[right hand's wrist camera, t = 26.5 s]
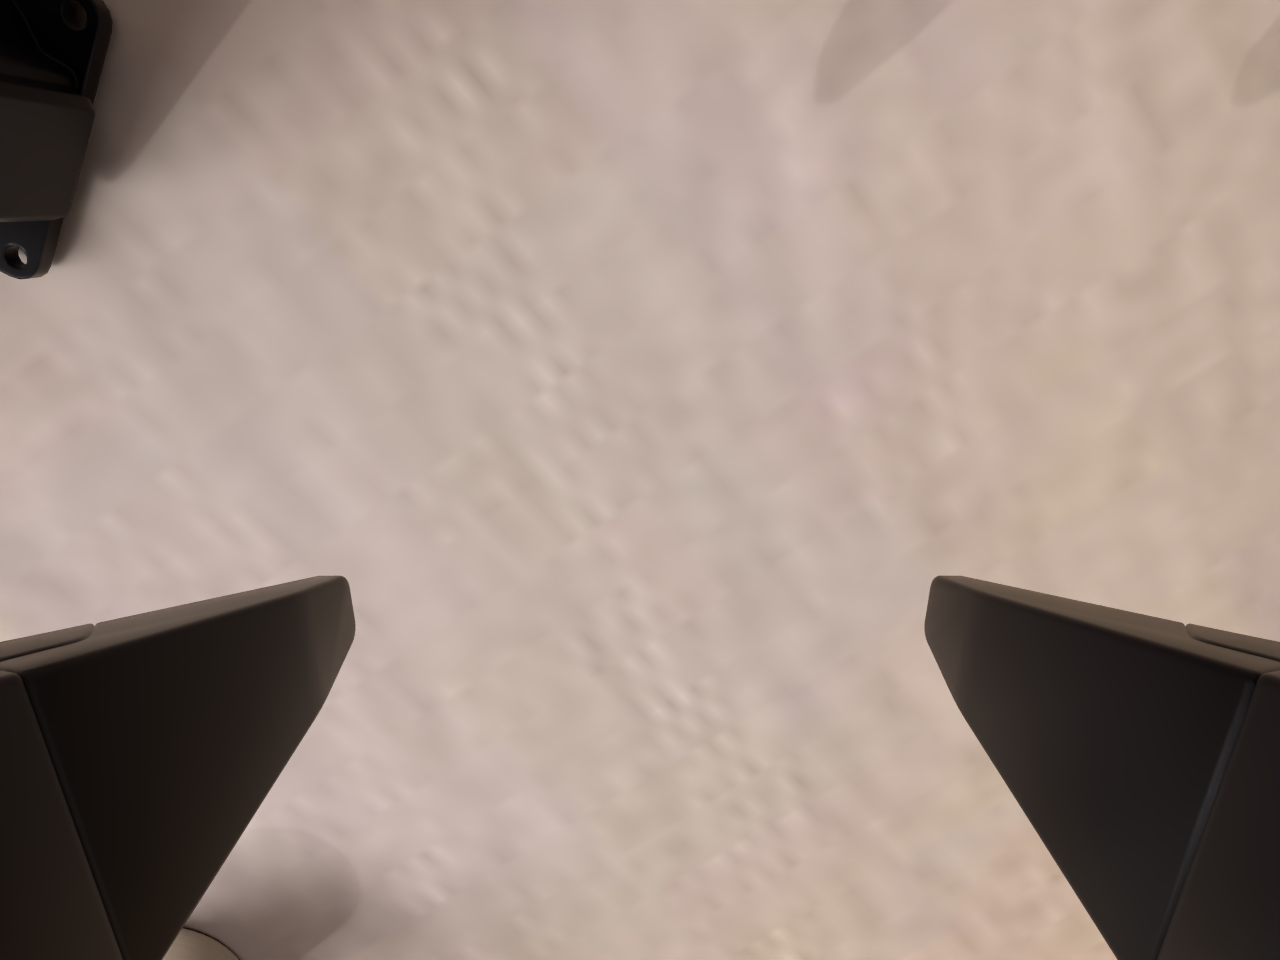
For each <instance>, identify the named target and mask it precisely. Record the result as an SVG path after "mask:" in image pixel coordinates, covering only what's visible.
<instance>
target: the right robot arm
mask: <svg viewBox="0 0 1280 960" xmlns="http://www.w3.org/2000/svg"><path fill="white" fill-rule="evenodd" d="M81 5H83V6H84V8H85V10H86V12H87V22H86V24H85V26H84V27H80V26H79V24H78V21H77V19H76V10H77V9H78V7H79V6H81ZM111 33H112V18H111V15H110V11H109V10H108V8H107V6H106V5H105V3H104V2H103V1H102V0H0V271H1V272H3V273H5V274H7V275H9V276H11V277H14V278H17V279H28V278H36V277H41V276H43V275H45V274H46V273H47V272H48V271H49V269H50V267H51V264H52V260H53V256H54V252H55V248H56V244H57V240H58V237H59V233H60V229H61V225H62V221H63V217H65V216H67V215H68V214H69V212H70V208H71V204H72V200H73V197H74V193H75V189H76V185H77V181H78V178H79V174H80V170H81V166H82V162H83V158H84V155H85V151H86V147H87V143H88V139H89V136H90V132H91V128H92V124H93V120H94V116H95V113H94V109H93V102H94V98H95V94H96V90H97V87H98V83H99V79H100V75H101V71H102V67H103V64H104V60H105V56H106V52H107V48H108V44H109V40H110V37H111ZM19 248H21V249H22V250H23V251H24V252H25V254H26V256H27V264H26V265H25V264H24V263H23V262H22V261H21V260H20V258H19V256H18V249H19ZM354 636H355V618H354V612H353V606H352V600H351V593H350V587H349V584H348V581H347V579H346V578H345V577H343V576H316V577H311V578H307V579H302V580H297V581H293V582H288V583H283V584H279V585H274V586H269V587H265V588H260V589H255V590H250V591H246V592H241V593H236V594H232V595H227V596H222V597H218V598H213V599H208V600H203V601H199V602H194V603H189V604H185V605H180V606H175V607H171V608H166V609H161V610H156V611H152V612H147V613H142V614H138V615H133V616H128V617H124V618H119V619H114V620H110V621H105V622H100V623H97V624H96V625H95V627H94V625H93V624H86V625H81V626H77V627H72V628H67V629H62V630H57V631H52V632H48V633H43V634H38V635H33V636H28V637H23V638H18V639H13V640H8V641H3V642H0V960H163V958H164V956H165V955H166V953H167V952H168V950H169V948H170V947H171V945H172V944H173V942H174V941H175V939H176V937H177V936H178V934H179V933H180V931H181V930H182V928H183V926H184V925H185V923H186V922H187V920H188V919H189V917H190V915H191V914H192V912H193V911H194V909H195V907H196V906H197V904H198V903H199V901H200V900H201V898H202V896H203V895H204V893H205V892H206V890H207V889H208V887H209V885H210V884H211V882H212V881H213V879H214V877H215V876H216V874H217V873H218V871H219V870H220V868H221V866H222V865H223V863H224V862H225V860H226V859H227V857H228V855H229V854H230V852H231V851H232V849H233V848H234V846H235V844H236V843H237V841H238V840H239V838H240V836H241V835H242V833H243V832H244V830H245V829H246V827H247V825H248V824H249V822H250V821H251V819H252V818H253V816H254V814H255V813H256V811H257V810H258V808H259V806H260V805H261V803H262V802H263V800H264V799H265V797H266V795H267V794H268V792H269V791H270V789H271V788H272V786H273V784H274V783H275V781H276V780H277V778H278V777H279V775H280V773H281V772H282V770H283V769H284V767H285V765H286V764H287V762H288V761H289V759H290V758H291V756H292V754H293V753H294V751H295V750H296V748H297V747H298V745H299V743H300V742H301V740H302V739H303V737H304V736H305V734H306V732H307V731H308V729H309V728H310V726H311V724H312V723H313V721H314V720H315V718H316V716H317V715H318V713H319V711H320V710H321V708H322V706H323V704H324V702H325V700H326V698H327V696H328V694H329V692H330V690H331V688H332V686H333V683H334V681H335V679H336V677H337V675H338V673H339V670H340V668H341V666H342V664H343V662H344V660H345V657H346V655H347V653H348V651H349V649H350V647H351V645H352V642H353V640H354ZM925 636H926V640H927V642H928V645H929V647H930V649H931V651H932V653H933V655H934V658H935V660H936V662H937V664H938V666H939V668H940V670H941V673H942V675H943V677H944V679H945V681H946V683H947V686H948V688H949V690H950V692H951V694H952V696H953V698H954V700H955V702H956V704H957V706H958V708H959V710H960V711H961V713H962V715H963V716H964V718H965V720H966V721H967V723H968V724H969V726H970V728H971V729H972V731H973V732H974V734H975V736H976V737H977V739H978V740H979V742H980V743H981V745H982V747H983V748H984V750H985V751H986V753H987V754H988V756H989V758H990V759H991V761H992V762H993V764H994V765H995V767H996V769H997V770H998V772H999V773H1000V775H1001V776H1002V778H1003V780H1004V781H1005V783H1006V784H1007V786H1008V788H1009V789H1010V791H1011V792H1012V794H1013V795H1014V797H1015V799H1016V800H1017V802H1018V803H1019V805H1020V806H1021V808H1022V810H1023V811H1024V813H1025V814H1026V816H1027V817H1028V819H1029V821H1030V822H1031V824H1032V825H1033V827H1034V829H1035V830H1036V832H1037V833H1038V835H1039V836H1040V838H1041V840H1042V841H1043V843H1044V844H1045V846H1046V847H1047V849H1048V851H1049V852H1050V854H1051V855H1052V857H1053V859H1054V860H1055V862H1056V863H1057V865H1058V866H1059V868H1060V870H1061V871H1062V873H1063V874H1064V876H1065V877H1066V879H1067V881H1068V882H1069V884H1070V885H1071V887H1072V889H1073V890H1074V892H1075V893H1076V895H1077V896H1078V898H1079V900H1080V901H1081V903H1082V904H1083V906H1084V907H1085V909H1086V911H1087V912H1088V914H1089V915H1090V917H1091V919H1092V920H1093V922H1094V923H1095V925H1096V926H1097V928H1098V930H1099V931H1100V933H1101V934H1102V936H1103V937H1104V939H1105V941H1106V942H1107V944H1108V945H1109V947H1110V949H1111V950H1112V952H1113V953H1114V955H1115V956H1116V958H1117V960H1280V642H1277V641H1272V640H1267V639H1262V638H1257V637H1252V636H1247V635H1242V634H1237V633H1232V632H1227V631H1223V630H1218V629H1213V628H1208V627H1203V626H1199V625H1194V624H1187V625H1186V627H1185V625H1184V624H1183V623H1180V622H1176V621H1171V620H1166V619H1161V618H1157V617H1152V616H1147V615H1143V614H1138V613H1133V612H1128V611H1124V610H1119V609H1114V608H1110V607H1105V606H1100V605H1096V604H1091V603H1086V602H1081V601H1077V600H1072V599H1067V598H1063V597H1058V596H1053V595H1049V594H1044V593H1039V592H1034V591H1030V590H1025V589H1020V588H1016V587H1011V586H1006V585H1001V584H997V583H992V582H987V581H983V580H978V579H973V578H969V577H964V576H937V577H935V578H934V579H933V581H932V584H931V587H930V593H929V599H928V606H927V612H926V618H925Z"/></svg>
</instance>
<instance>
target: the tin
mask: <svg viewBox="0 0 1280 960" xmlns="http://www.w3.org/2000/svg"><path fill="white" fill-rule="evenodd" d="M163 960H239V959H238V958H237V957H236V956H235V955H234V954H233V952H231V951H230V950H229V949H228V948H227V947H225V946H224V945H222V944H221V943H219V942H218V941H216V940H214V939H212V938H211V937H208V936H206V935H204V934H201V933H199V932H196V931H193V930H189V929H184V928H182V930H181V931H180V933H179V934H178V936H177V937H176V939H175V941H174V942H173V944H172V945H171V947H170V948H169V950H168V952H167V953H166V955H165V956H164V958H163Z"/></svg>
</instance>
